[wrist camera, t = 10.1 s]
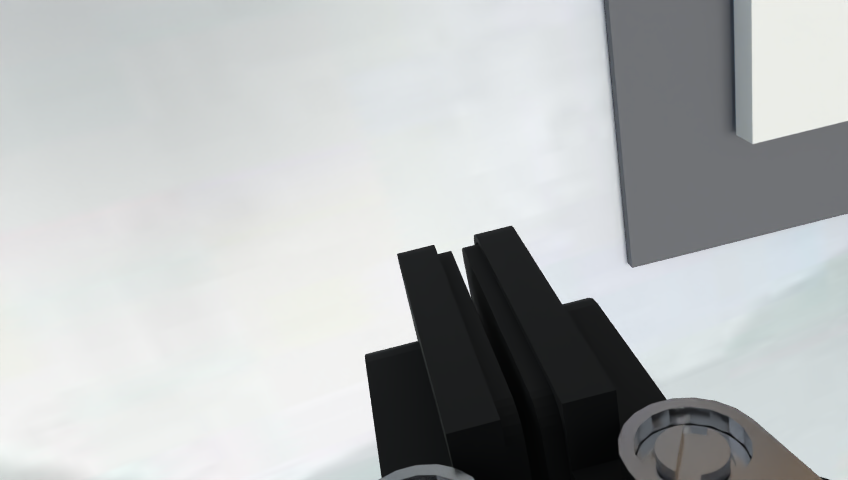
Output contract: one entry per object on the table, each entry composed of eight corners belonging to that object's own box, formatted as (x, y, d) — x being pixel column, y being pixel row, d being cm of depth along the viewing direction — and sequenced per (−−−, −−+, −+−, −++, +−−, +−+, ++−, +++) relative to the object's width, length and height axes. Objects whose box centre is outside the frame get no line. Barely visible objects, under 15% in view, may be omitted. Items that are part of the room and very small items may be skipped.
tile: (751, -45, 34) (939, -88, 35) (728, -48, 36) (908, -90, 36) (752, 144, 38) (922, 102, 38) (732, 132, 40) (894, 93, 40)
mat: (601, -32, 36) (606, -31, 35) (920, -106, 37) (929, -106, 36) (628, 262, 43) (632, 267, 42) (895, 195, 44) (903, 199, 43)
